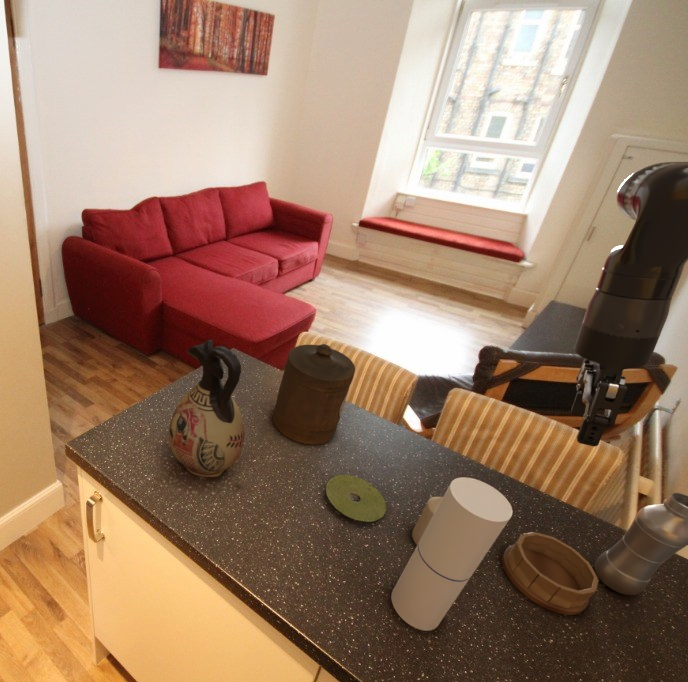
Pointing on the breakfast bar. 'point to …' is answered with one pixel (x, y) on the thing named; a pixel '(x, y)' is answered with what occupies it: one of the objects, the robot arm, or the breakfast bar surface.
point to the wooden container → (312, 393)
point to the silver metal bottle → (645, 546)
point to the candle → (425, 518)
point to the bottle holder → (550, 573)
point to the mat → (355, 498)
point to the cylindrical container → (450, 551)
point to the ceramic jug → (209, 416)
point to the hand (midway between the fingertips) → (582, 428)
